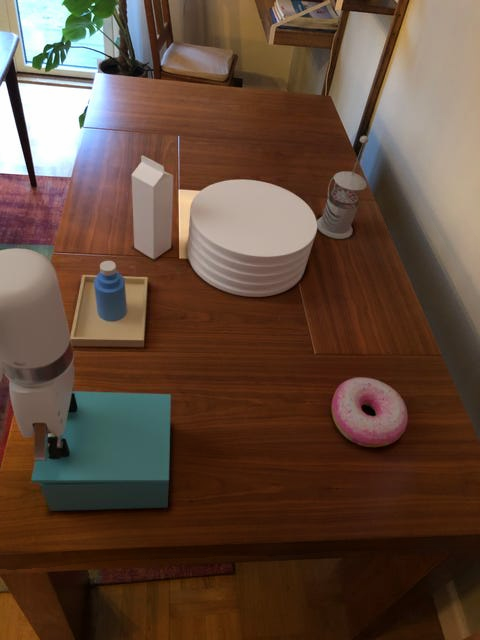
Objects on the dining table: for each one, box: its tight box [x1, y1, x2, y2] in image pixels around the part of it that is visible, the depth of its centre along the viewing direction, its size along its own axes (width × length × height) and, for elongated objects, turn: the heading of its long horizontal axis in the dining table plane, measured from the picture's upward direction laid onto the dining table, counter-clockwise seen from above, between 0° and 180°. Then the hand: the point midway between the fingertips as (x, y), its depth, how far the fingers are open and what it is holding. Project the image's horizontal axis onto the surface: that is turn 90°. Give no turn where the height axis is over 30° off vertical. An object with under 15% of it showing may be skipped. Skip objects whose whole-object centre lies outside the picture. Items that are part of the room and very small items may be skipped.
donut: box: [330, 376, 409, 448], centre depth 84 cm, size 14×13×5 cm
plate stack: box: [187, 179, 318, 298], centre depth 108 cm, size 28×28×12 cm
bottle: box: [94, 260, 127, 321], centre depth 90 cm, size 6×6×12 cm
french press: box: [316, 135, 369, 240], centre depth 116 cm, size 10×12×25 cm
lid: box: [30, 390, 172, 484], centre depth 65 cm, size 17×14×5 cm
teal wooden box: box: [39, 481, 170, 512], centre depth 71 cm, size 17×14×9 cm
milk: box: [131, 154, 174, 260], centre depth 102 cm, size 6×6×22 cm
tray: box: [70, 274, 149, 348], centre depth 94 cm, size 17×13×2 cm
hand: (61, 431), depth 65 cm, fingers closed on lid, 6 cm apart
